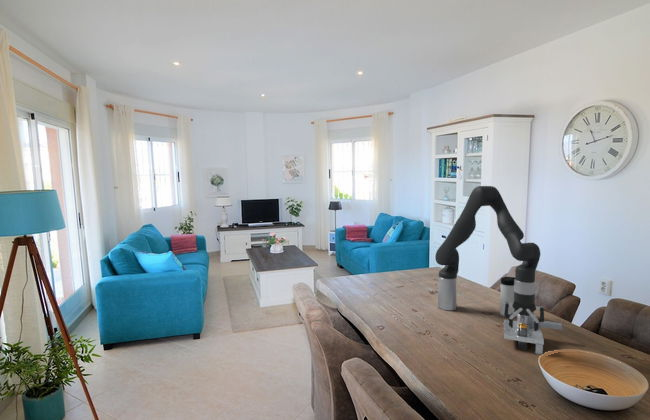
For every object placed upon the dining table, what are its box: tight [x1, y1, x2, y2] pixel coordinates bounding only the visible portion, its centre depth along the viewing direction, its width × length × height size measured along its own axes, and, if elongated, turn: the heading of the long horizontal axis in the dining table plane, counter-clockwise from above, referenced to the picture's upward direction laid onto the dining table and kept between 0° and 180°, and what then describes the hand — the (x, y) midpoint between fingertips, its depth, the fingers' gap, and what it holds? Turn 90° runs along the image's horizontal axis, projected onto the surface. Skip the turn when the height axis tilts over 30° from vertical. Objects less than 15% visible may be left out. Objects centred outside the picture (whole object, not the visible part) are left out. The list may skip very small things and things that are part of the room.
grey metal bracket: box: [503, 314, 563, 355], centre depth 148 cm, size 22×16×14 cm
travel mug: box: [499, 276, 515, 319], centre depth 178 cm, size 6×7×20 cm
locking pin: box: [517, 323, 528, 351], centre depth 146 cm, size 3×3×10 cm
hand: (523, 328), depth 146 cm, fingers open, 8 cm apart
